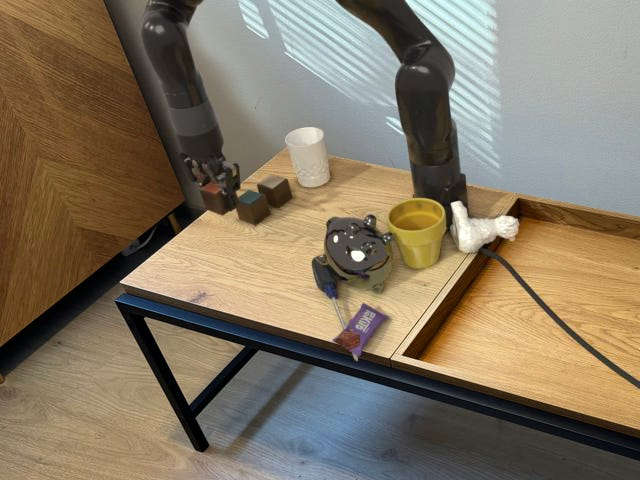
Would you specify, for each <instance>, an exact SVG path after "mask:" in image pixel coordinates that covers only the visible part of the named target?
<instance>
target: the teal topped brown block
mask: <svg viewBox="0 0 640 480" xmlns="http://www.w3.org/2000/svg"><path fill="white" fill-rule="evenodd" d="M238 200H239V203H240V204H239V205H237V208H235V210H236V213H237V217H238V219H239V220H240V221H242V222H245V223H248V224H250V225H253V226H257V225H258V224H260V223H261V222H263V221H264V220H265V219H266V218H268V217H269V216H271V215H272V212H271V209H270V206H269V205H268V202H267V198H266V195H264V194H261V193H259V191H258V192H257V191H255V190H252V189H248V190H246V191H245V192H244V193H242V194H240V195H239V196H238Z"/></svg>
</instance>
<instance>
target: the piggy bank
mask: <svg viewBox="0 0 640 480" xmlns="http://www.w3.org/2000/svg"><path fill="white" fill-rule="evenodd" d="M325 227H326V232H325V236H324V239H323V254H320V255H316V256H315V257H316V260H317V262H318V263H319V264H320V265H322V266H323V267H327V268H330V269H331V270H332V271H333V273H334V274H335V275H336V277H337V279H339V280H340V281H341V282H342V283H343V284H345V285H346V286H348V287H350V288H353V289H356V290H360V291H366V290H371V291H372V292H373V293H374V294H375V295H380V294H381V293H382V291H383V289H384V287H385V284H384V282H385V281H386V280H387V278H388V277H389V275H390V273H391V270H392V267H393V265H394V259H395V257H394V249H393V244H394V242H395V238H396V236H395V234H394V233H392V232H389V231H387V232H384V233H383V232H382V231H381V230H380V229H379V228H378V227H377V217H376V216H375V214H373V213H368V214H366V215H365V217H364V219H363V218H362V219H361V218H357V217H350V216H343V217H340V216H332V217H330V218H328V220H327V221H326V223H325Z"/></svg>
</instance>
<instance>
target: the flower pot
mask: <svg viewBox="0 0 640 480" xmlns="http://www.w3.org/2000/svg"><path fill="white" fill-rule="evenodd" d="M386 224H387V225H386V226H387V230H388V232H392V233H394V234H395V236H396V238H395V240H394V242H395V243H396V246H397V249H398V251H399V253H400V255H401V258H402V260H403V262H404V264H405V265H407V267H409V268H412V269H426V268H429V267H432V266H433V265H435V264H436V263H437V262H438V261H439V258H440V253H441V246H442V241H443V236H444V235H445V233H446V232H447V231H446V213H445V209H444V208H443V206H442V205H441V204H440V203H438V202H436V201H434V200H431V199H427V198H413V197H412V198H408V199H405V200H401V201H399V202H397V203H395V204H394V205H393V206H391V207H390V208H389V210H388V211H387V214H386Z"/></svg>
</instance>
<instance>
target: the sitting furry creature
mask: <svg viewBox="0 0 640 480" xmlns="http://www.w3.org/2000/svg"><path fill="white" fill-rule="evenodd" d="M451 208H452V213H453V219H452V222H453V224H452V225H451V227H450V231H449V232H450V234H451V237H452V239H453V242H454V243H455V246H456V248H457V249H458V251H461V253H463V254H464V253H465V254H475V253H476V252H479V251H478V249H480V248H481V247H483V246H484V245H486V244H487V245H488V244H489V243H491V242H493V241H495V240H496V238H497V237H499V238H502V239H506V240H509V241H510V242H515V241H516V235H518V233H519V227H520V222H519V219H518V218H515V217H514V216H510V215H503V214H501V215H499V216H498V217H496V218H491V219H490V218H487V217H486V218H481V217H480V218H475V217H472V218H470V217H468V214H467V209H466V208H465V206H463V204H462V202H461V201H457V202H453V203H451Z"/></svg>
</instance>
